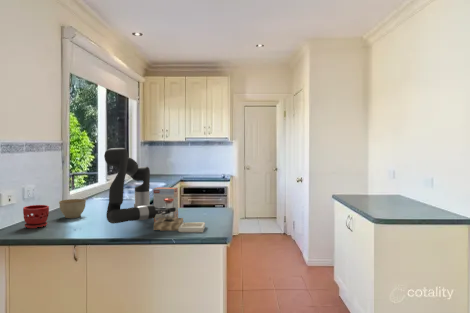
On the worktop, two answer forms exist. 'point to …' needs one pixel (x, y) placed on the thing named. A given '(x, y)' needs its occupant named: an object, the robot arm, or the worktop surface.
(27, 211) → the plant pot
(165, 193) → the cracker box
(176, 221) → the socket block
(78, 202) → the planter bowl
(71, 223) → the worktop surface
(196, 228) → the tray
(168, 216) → the pin
